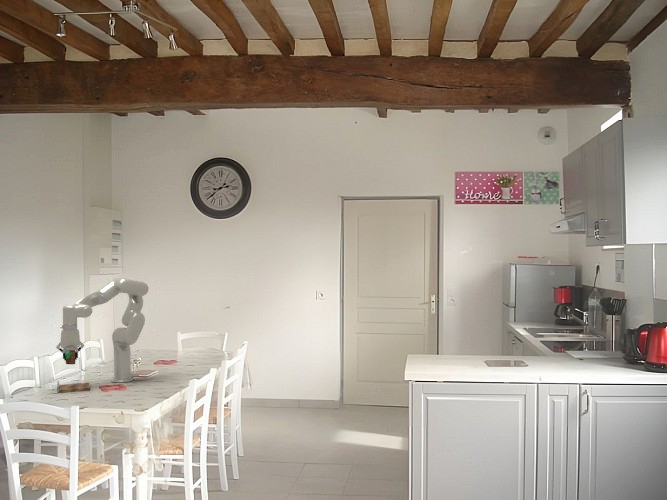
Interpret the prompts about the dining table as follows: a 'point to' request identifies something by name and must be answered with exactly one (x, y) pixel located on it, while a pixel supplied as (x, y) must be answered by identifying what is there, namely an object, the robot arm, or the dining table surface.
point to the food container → (70, 355)
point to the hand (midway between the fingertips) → (70, 359)
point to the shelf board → (72, 387)
